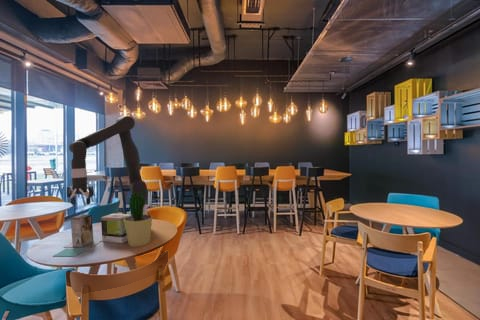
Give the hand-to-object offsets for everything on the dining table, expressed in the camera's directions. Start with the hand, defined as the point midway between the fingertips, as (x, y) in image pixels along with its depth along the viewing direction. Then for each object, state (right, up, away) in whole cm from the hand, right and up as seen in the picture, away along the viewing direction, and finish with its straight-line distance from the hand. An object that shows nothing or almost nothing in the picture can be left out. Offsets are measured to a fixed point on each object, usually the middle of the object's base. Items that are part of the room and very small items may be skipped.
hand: (80, 204), depth 152 cm
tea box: (+18, -23, +7) cm, 30 cm away
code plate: (+1, -23, +1) cm, 23 cm away
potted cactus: (+33, -23, +1) cm, 40 cm away
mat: (+1, -24, -11) cm, 26 cm away
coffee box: (+1, -23, +1) cm, 23 cm away
